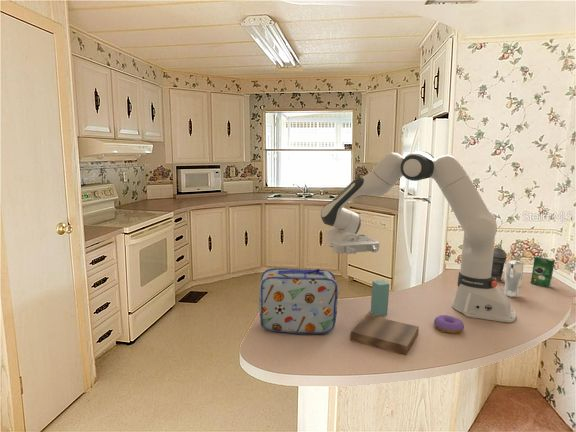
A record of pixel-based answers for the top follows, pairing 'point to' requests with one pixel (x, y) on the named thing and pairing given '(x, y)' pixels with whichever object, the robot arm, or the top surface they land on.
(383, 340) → the walnut riser
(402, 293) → the top surface
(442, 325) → the donut
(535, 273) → the coffee box
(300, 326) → the lunch box
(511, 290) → the beer glass
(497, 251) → the beverage cup
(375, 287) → the teal block
